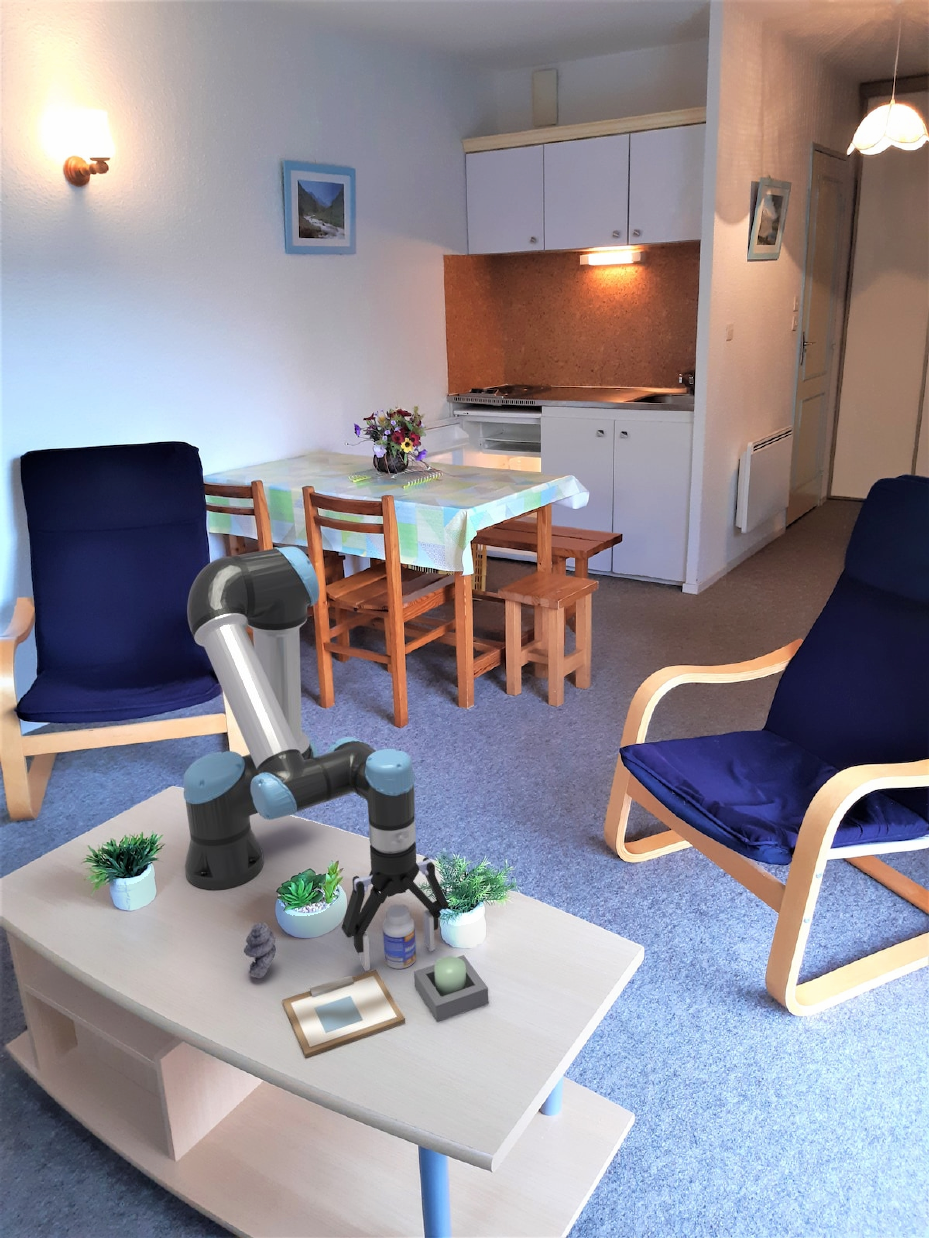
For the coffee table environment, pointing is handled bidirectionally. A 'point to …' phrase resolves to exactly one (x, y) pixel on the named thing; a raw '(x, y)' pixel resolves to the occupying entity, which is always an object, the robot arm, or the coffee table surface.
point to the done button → (450, 975)
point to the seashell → (260, 949)
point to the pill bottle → (399, 937)
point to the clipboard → (342, 1012)
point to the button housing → (455, 1001)
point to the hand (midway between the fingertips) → (397, 955)
